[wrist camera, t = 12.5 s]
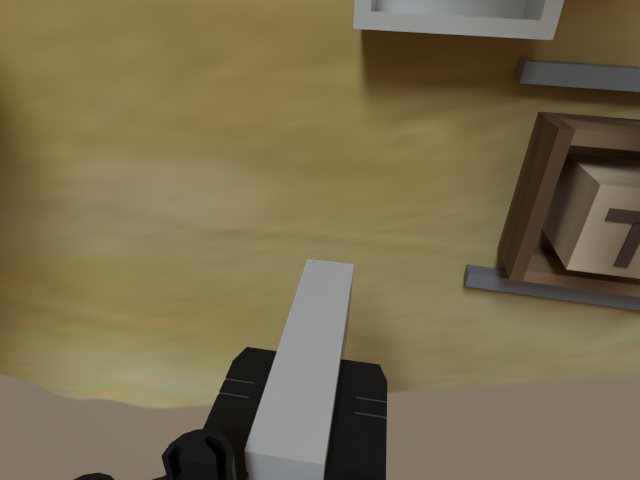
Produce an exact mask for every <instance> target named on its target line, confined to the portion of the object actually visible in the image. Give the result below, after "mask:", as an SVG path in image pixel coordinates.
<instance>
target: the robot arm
mask: <svg viewBox="0 0 640 480" xmlns="http://www.w3.org/2000/svg"><path fill="white" fill-rule="evenodd" d="M353 270H354V264H346V263H338V262H329V261H320V260H312V259H307V261H306V264H305V268H304V271H303V274H302V277H301V280H300V283H299V286H298V289H297V292H296V295H295V298H294V301H293V304H292V307H291V310H290V313H289V316H288V319H287V322H286V325H285V328H284V331H283V334H282V337H281V341H280V344H279V347H278V350H277V351H271V350H264V349H257V348H250V347H247V348H246V349H244V350H243V351H242V352H241V353H240V354H239V355H238V356H237V357H236V358H235V359H234V360H233V362H232V364H231V366H230V369H229V371H228V373H227V375H226V379H225V381H224V382H223V385H222V387H221V389H220V393H219V395H218V396H217V398H216V400H215V403H214V405H213V407H212V409H211V412H210V414H209V416H208V419H207V421H206V423H205V425H204V428H203V429H199V430H198V429H197V430H194V431H191V432H188V433H185V434H183V435H181V436H180V437H179V438H177V439H176V440H175V441H173V442H172V443H171V444H170V445H169V446H168V448H167V449H166V451H165V452H164V453H163V455H162V460H163V463H164V467H165V471H166V475H165V476H163V477H160V478H157V479H153V480H386V431H387V427H386V426H387V420H386V418H387V380H386V378H385V376H384V374H383V371H382V369H381V367H380V365H378V364H371V363H364V362H357V361H350V360H344V354H345V346H346V339H347V332H348V322H349V312H350V301H351V291H352V280H353ZM74 480H114V479H113V478H112V477H111V476H110V475H106V474H102V473H93V474H87V475H83V476H80V477H78V478H76V479H74Z"/></svg>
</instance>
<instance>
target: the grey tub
mask: <svg viewBox="0 0 640 480" xmlns="http://www.w3.org/2000/svg"><path fill="white" fill-rule="evenodd" d="M563 4H564V0H355V8H354V22H353V29H366V30H384V31H401V32H419V33H436V34H453V35H471V36H488V37H506V38H523V39H540V40H553V38H554V35H555V31H556V28H557V24H558V21H559V17H560V14H561V10H562V7H563Z"/></svg>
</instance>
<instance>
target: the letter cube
mask: <svg viewBox="0 0 640 480" xmlns="http://www.w3.org/2000/svg"><path fill="white" fill-rule="evenodd" d="M542 230H543V231H544V233H545V235H546V236H547V238H548V240H549V241H550V243H551V245H552V246H553V248H554V250H555V251H556V253H557V255H558V256H559V258H560V260H561V261H562V263H563V265H564V266H565V268H566V269H567V270H575V271H583V272H591V273H599V274H606V275H614V276H622V277H630V278H638V279H640V160H631V159H620V158H609V157H598V156H587V155H576V154H567V156H566V159H565V162H564V165H563V167H562V170H561V173H560V176H559V179H558V182H557V185H556V188H555V190H554V193H553V196H552V199H551V202H550V205H549V208H548V211H547V214H546V216H545V219H544V222H543V225H542Z"/></svg>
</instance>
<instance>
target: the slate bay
mask: <svg viewBox="0 0 640 480" xmlns="http://www.w3.org/2000/svg"><path fill="white" fill-rule="evenodd" d="M516 81H517V82H519V83H522V84H536V85H550V86H564V87H578V88H591V89H605V90H619V91H633V92H640V67H634V66H618V65H603V64H587V63H571V62H556V61H540V60H525V59H521V61H520V64H519V68H518V72H517V76H516ZM464 282H465V286H466V287H473V288H481V289H488V290H495V291H502V292H510V293H517V294H524V295H531V296H538V297H546V298H553V299H560V300H567V301H574V302H582V303H589V304H596V305H603V306H611V307H618V308H625V309H632V310H639V311H640V297H637V296H629V295H622V294H614V293H607V292H600V291H592V290H585V289H577V288H570V287H562V286H555V285H547V284H540V283H532V282H525V281H518V280H510V279H509V277H508V274H507V271H506V270H500V269H493V268H485V267H478V266H470V265H467V267H466V271H465V274H464Z"/></svg>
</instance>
